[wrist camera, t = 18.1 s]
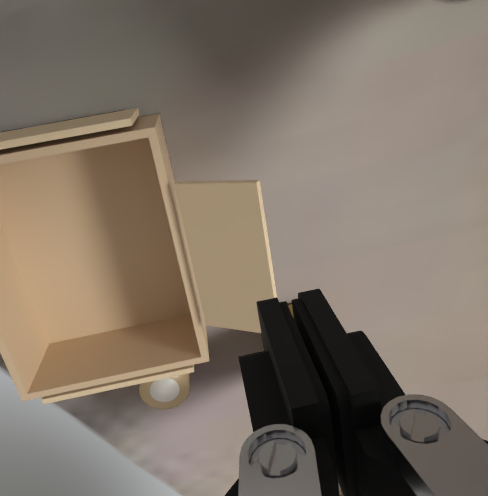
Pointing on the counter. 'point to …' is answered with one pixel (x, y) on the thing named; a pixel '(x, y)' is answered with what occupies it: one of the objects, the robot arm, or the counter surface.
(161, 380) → the white-capped tan cylinder
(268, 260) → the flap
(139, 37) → the counter surface
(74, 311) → the carton
